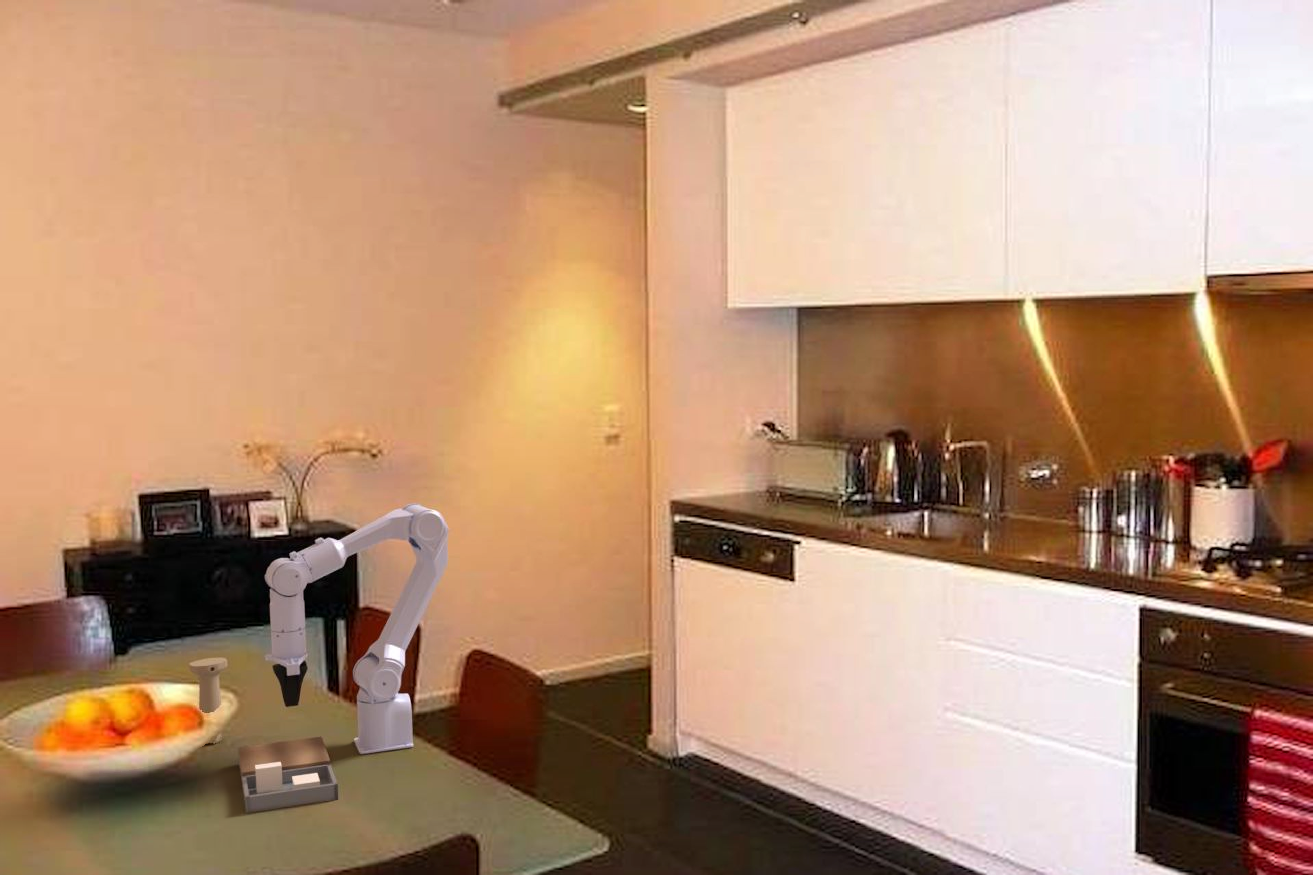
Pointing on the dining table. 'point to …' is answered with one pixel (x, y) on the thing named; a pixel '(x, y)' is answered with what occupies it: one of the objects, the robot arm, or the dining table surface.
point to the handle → (209, 684)
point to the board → (283, 755)
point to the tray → (291, 790)
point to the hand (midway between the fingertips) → (291, 705)
